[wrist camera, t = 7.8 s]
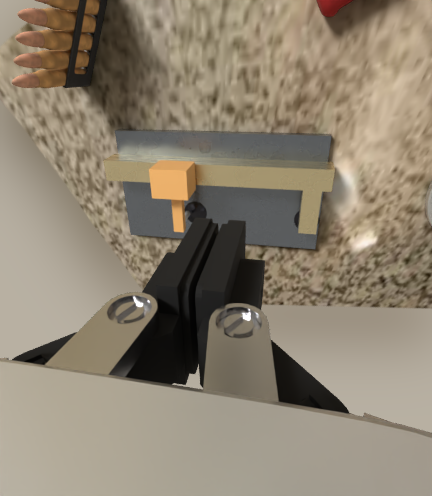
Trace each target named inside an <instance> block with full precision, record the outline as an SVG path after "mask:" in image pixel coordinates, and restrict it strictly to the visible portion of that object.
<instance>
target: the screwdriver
mask: <svg viewBox="0 0 432 496" xmlns="http://www.w3.org/2000/svg"><path fill="white" fill-rule="evenodd" d="M352 1H353V0H317V3H318V6H319V8H320V11H321V13H322V14H323V15H324V16H326V17H332V16H334V15H335V14H336V13H337V12H338V10H339V9H340V8H342V7H343V6H345V5H347V4H348V3H350V2H352Z"/></svg>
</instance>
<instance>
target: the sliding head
mask: <svg viewBox="0 0 432 496" xmlns="http://www.w3.org/2000/svg"><path fill="white" fill-rule="evenodd" d="M149 175H150V184H151V193H152V198H155V199H171V201H172V213H173V225H174V232H184V231H185V229H186V220H187V219H188V217H189V216H190V212H189V211H186V212H185V206H184V200H189V198H190V197H191V195H192V194H193V193H194V191H195V190H196V180H195V161H171V160H159V161H158V162H157V163H156V164H155V165H153V166H152V167H151V168H150V169H149Z"/></svg>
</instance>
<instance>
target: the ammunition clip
mask: <svg viewBox="0 0 432 496" xmlns="http://www.w3.org/2000/svg"><path fill="white" fill-rule="evenodd" d="M35 1H38V2H42V3H45V4H49V5H50V6H52V7H55V8H59V9H54V8H47V9H35V8H29V9H24V10H21V11H19V12H18V16H19V17H20V18H21V19H22V20H24V21H26V22H28V23H31V24H35V25H40V26H44V27H48V28H50V29H53V30H49V29H48V30H43V31H28V32H23V33H20V34H18V35H17V36H16V37H15V38H16V40H17V41H18V42H20V43H22V44H24V45H27V46H32V47H40V48H46V49H49V50H43V51H40V52H35V53H27V54H22V55H19V56H17V57H16V58H15V59H14V63H16V64H17V65H19V66H23V67H27V68H43V69H46V70H39V71H37V72H34V73H30V74H23V75H20V76H18V77H16V78H14V79H13V80H12V84H13V85H15V86H18V87H22V88H34V87H35V88H38V87H41V88H51V87H58V86H63V87H65V88H71V87H83V86H90V82H91V77H92V72H93V68H94V63H95V58H96V53H97V48H98V43H99V38H100V33H101V28H102V23H103V18H104V13H105V9H106V4H107V0H35ZM67 10H69V11H67ZM72 11H74V12H72Z"/></svg>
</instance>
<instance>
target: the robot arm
mask: <svg viewBox="0 0 432 496" xmlns="http://www.w3.org/2000/svg"><path fill="white" fill-rule="evenodd" d="M425 210H426V216H427V218H428V221H429V223H430V225H431V226H432V182H431V184H430V186H429V189H428V192H427V194H426V201H425ZM245 240H246V221H240V220H229V221H228V223H227V224H222V225H221V228H220V230H219V227H218V223H213V220H212V219H209V218H195V219H194V221H193V223H192V224H191V226H190V228H189V229H188V231H187V233H186V234H185V236H184V238H183V239H182V241H181V243H180V245H179V246H178V248H177V250H176V251H175V253H171V252H169V253H167V254H166V255H165V257H164V258H163V260H162V261H161V263H160V265H159V266H158V268H157V269H156V271H155V272H154V274H153V276H152V277H151V279H150V280H149V282H148V284H147V285H146V287H145V288H144V290H143V292H142V293H141V292H131V293H125V294H121V295H118V296H116V297H114V298H112V299H111V300H110V301H108V302H107V303H106V304H105V305H104V306H103V307H102V308H101V309H100V310H99V311H98V312H97V313H96V314H95V315H94V316H93V317H92V318H91V319H90V320H89V321H88V322H87V323H86V324H85V325H84V326H83V327H82V328H81V329H80V330H79V331H78V332H76V333H73V334H71V335H68V336H65V337H63V338H60V339H58V340H55V341H53V342H50V343H48V344H45V345H43V346H40V347H38V348H35V349H33V350H30V351H27V352H25V353H23V354H21V355H19V356H17V357H15V358H14V359H12V360H9V359H8V358H0V496H432V433H430V432H426V431H422V430H419V429H415V428H412V427H408V426H405V425H401V424H397V423H392V422H389V421H387V420H384V419H381V418H378V417H375V416H372V415H369V414H366V413H364V415H363V417H362V416H357V415H354V414H351V413H349V411H348V410H347V408H346V407H345V406H344V405H343V403H342V402H341V401H340V400H339V399H338V398H337V397H336V396H334V395H333V394H332V393H331V392H330V391H329V390H327V389H326V388H325V387H324V386H323V385H322V384H321V383H320V382H319V381H317V380H316V379H315V378H314V377H313V376H312V375H311V374H309V373H308V372H307V371H306V370H305V369H304V368H303V367H301V366H300V365H299V364H298V363H297V362H296V361H295V360H293V359H292V358H291V357H290V356H289V355H288V354H287V353H286V352H284V351H283V350H282V349H281V348H280V347H278V345H276V344H275V343H274V342H273V341H272V340H271V338H270V331H269V323H268V320H267V317H266V315H265V314H264V313H263V312H262V311H261V306H262V296H263V284H264V267H265V260H253V259H245ZM198 364H199V372H200V385H201V386H202V387H203V390H202V389H196V388H190V387H183V386H177V385H171V384H173V383H177V384H183V385H186V383H187V379H188V376H189V373H190V374H195V373H196V370H197V367H198Z"/></svg>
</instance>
